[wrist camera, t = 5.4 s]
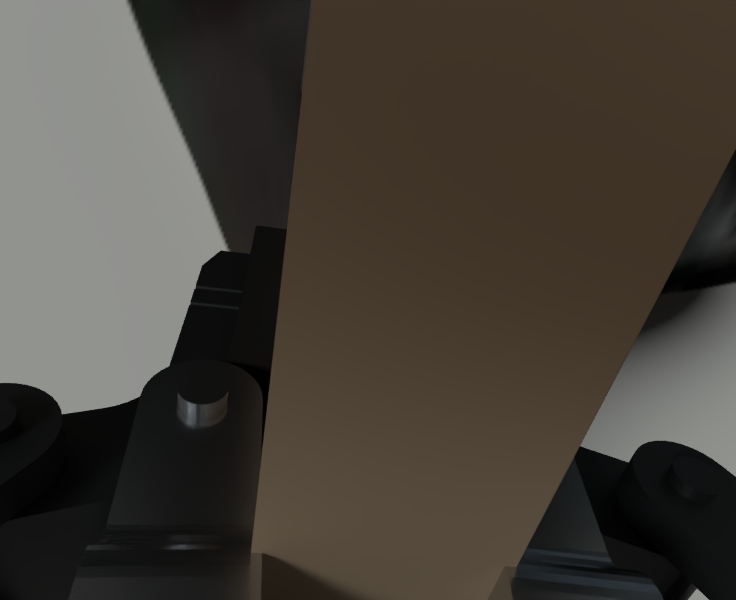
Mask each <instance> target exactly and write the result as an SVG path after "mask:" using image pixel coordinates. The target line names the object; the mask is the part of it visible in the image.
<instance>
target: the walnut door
mask: <svg viewBox="0 0 736 600" xmlns="http://www.w3.org/2000/svg"><path fill="white" fill-rule="evenodd" d="M301 91H302V100H301V109H300V118H299V127H298V136H297V145H296V154H295V163H294V172H293V180H292V189H291V198H290V207H289V216H288V225H287V234H286V243H285V252H284V261H283V270H282V279H281V288H280V297H279V305H278V314H277V323H276V332H275V341H274V350H273V359H272V368H271V377H270V386H269V395H268V404H267V413H266V422H265V430H264V439H263V448H262V457H261V466H260V475H259V484H258V493H257V502H256V511H255V520H254V529H253V538H252V547H251V553H262V579H261V600H488V598H489V596H490V594H491V592H492V590H493V588H494V586H495V584H496V582H497V580H498V578H499V576H500V574H501V572H502V570H503V568H504V566H509V567H517V565H518V563H519V561H520V559H521V557H522V555H523V553H524V551H525V550H526V548H527V546H528V544H529V542H530V540H531V538H532V536H533V534H534V532H535V530H536V529H537V527H538V525H539V523H540V521H541V519H542V517H543V515H544V513H545V511H546V510H547V508H548V506H549V504H550V502H551V500H552V498H553V496H554V494H555V492H556V490H557V489H558V487H559V485H560V483H561V481H562V479H563V477H564V475H565V473H566V471H567V470H568V468H569V466H570V464H571V462H572V460H573V458H574V456H575V454H576V452H577V450H578V449H579V447H580V445H581V443H582V441H583V439H584V437H585V435H586V433H587V431H588V430H589V427H590V426H591V424H592V422H593V420H594V418H595V416H596V414H597V412H598V410H599V409H600V407H601V405H602V403H603V401H604V399H605V397H606V395H607V393H608V391H609V390H610V388H611V386H612V384H613V382H614V380H615V378H616V376H617V374H618V372H619V370H620V368H621V367H622V365H623V363H624V361H625V359H626V357H627V355H628V353H629V351H630V349H631V348H632V346H633V344H634V342H635V340H636V338H637V336H638V334H639V332H640V330H641V329H642V327H643V325H644V323H645V321H646V319H647V317H648V315H649V313H650V311H651V309H652V308H653V306H654V304H655V302H656V300H657V298H658V296H659V294H660V292H661V290H662V289H663V287H664V285H665V283H666V281H667V279H668V277H669V275H670V273H671V271H672V269H673V268H674V266H675V264H676V262H677V260H678V258H679V256H680V254H681V252H682V250H683V249H684V247H685V245H686V243H687V241H688V239H689V237H690V235H691V233H692V231H693V229H694V228H695V226H696V224H697V222H698V220H699V218H700V216H701V214H702V212H703V210H704V209H705V207H706V205H707V203H708V201H709V199H710V197H711V195H712V193H713V191H714V189H715V188H716V186H717V184H718V182H719V180H720V178H721V176H722V174H723V172H724V170H725V169H726V167H727V165H728V163H729V161H730V159H731V157H732V155H733V153H734V151H735V149H736V0H311V4H310V13H309V22H308V31H307V40H306V49H305V58H304V67H303V76H302V85H301Z"/></svg>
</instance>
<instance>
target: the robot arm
mask: <svg viewBox="0 0 736 600" xmlns="http://www.w3.org/2000/svg"><path fill="white" fill-rule="evenodd" d="M286 234H287V229H280V228H272V227H265V226H256V229H255V234H254V239H253V244H252V248H251V253H250V254H245V253H236V252H228V251H220V252H219V253H217V254H216V255H215V256H214V257H212V258H211V259H210V260H209V261H208V262H206V263H205V264H204V265H202V268H201V271H200V274H199V277H198V280H197V283H196V289H195V290H194V293H193V296H192V299H191V304H190V305H189V308H188V311H187V314H186V317H185V320H184V323H183V326H182V329H181V333H180V335H179V338H178V341H177V344H176V347H175V350H174V354H173V357H172V360H171V363H170V366H169V367H167V368H165V369H163V370H161V371H160V372H158V373H157V374H156V375H154V376H153V377H152V378H151V379H150V380H149V381H148V382H147V384H146V385H145V387H144V388H143V391H142V393H141V396H140V397H138V398H136V399H134V400H131V401H129V402H127V403H123V404H120V405H117V406H113V407H108V408H103V409H95V410H89V411H83V412H75V413H69V414H63V415H62V414H61V409H60V407H59V405H58V403H57V402H56V401H55V400H54V398H53V397H52V396H50V395H49V394H47V393H46V392H44V391H42V390H40V389H38V388H35V387H32V386H28V385H23V384H16V383H0V600H261V579H262V553H251V547H252V538H253V529H254V520H255V511H256V502H257V493H258V484H259V475H260V466H261V457H262V448H263V439H264V430H265V422H266V413H267V404H268V395H269V386H270V377H271V368H272V359H273V350H274V341H275V332H276V323H277V314H278V305H279V297H280V288H281V279H282V270H283V261H284V252H285V243H286ZM696 589H698V590H700V591H701V592H702V593H703V594H704V595H705V596H706V597H707V598H708V599H709V600H736V477H735V476H734V475H733V474H731V473H730V472H729V471H727V470H726V469H725V468H724V467H722V466H721V465H719V464H718V463H717V462H715V461H714V460H713V459H711V458H709V457H708V456H706V455H704V454H703V453H701V452H699V451H697V450H694V449H693V448H690V447H688V446H685V445H682V444H678V443H675V442H668V441H652V442H648V443H645V444H643V445H641V446H640V447H639V448H638V449H637V450H636V452H635V453H634V455H633V456H632V458H631V460H630V462H629V463H628V462H625V461H622V460H619V459H616V458H613V457H610V456H607V455H604V454H601V453H598V452H595V451H592V450H589V449H586V448H583V447H581V446H580V447H579V449H578V450H577V452H576V454H575V456H574V458H573V460H572V462H571V464H570V466H569V468H568V470H567V471H566V473H565V475H564V477H563V479H562V481H561V483H560V485H559V487H558V489H557V490H556V492H555V494H554V496H553V498H552V500H551V502H550V504H549V506H548V508H547V510H546V511H545V513H544V515H543V517H542V519H541V521H540V523H539V525H538V527H537V529H536V530H535V532H534V534H533V536H532V538H531V540H530V542H529V544H528V546H527V548H526V550H525V551H524V553H523V555H522V557H521V559H520V561H519V563H518V565H517V567H509V566H504V568H503V570H502V572H501V574H500V576H499V578H498V580H497V582H496V584H495V586H494V588H493V590H492V592H491V594H490V596H489V598H488V600H688V599H689V597H690V596H691V595H692V594H693V592H694V591H695V590H696Z"/></svg>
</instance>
